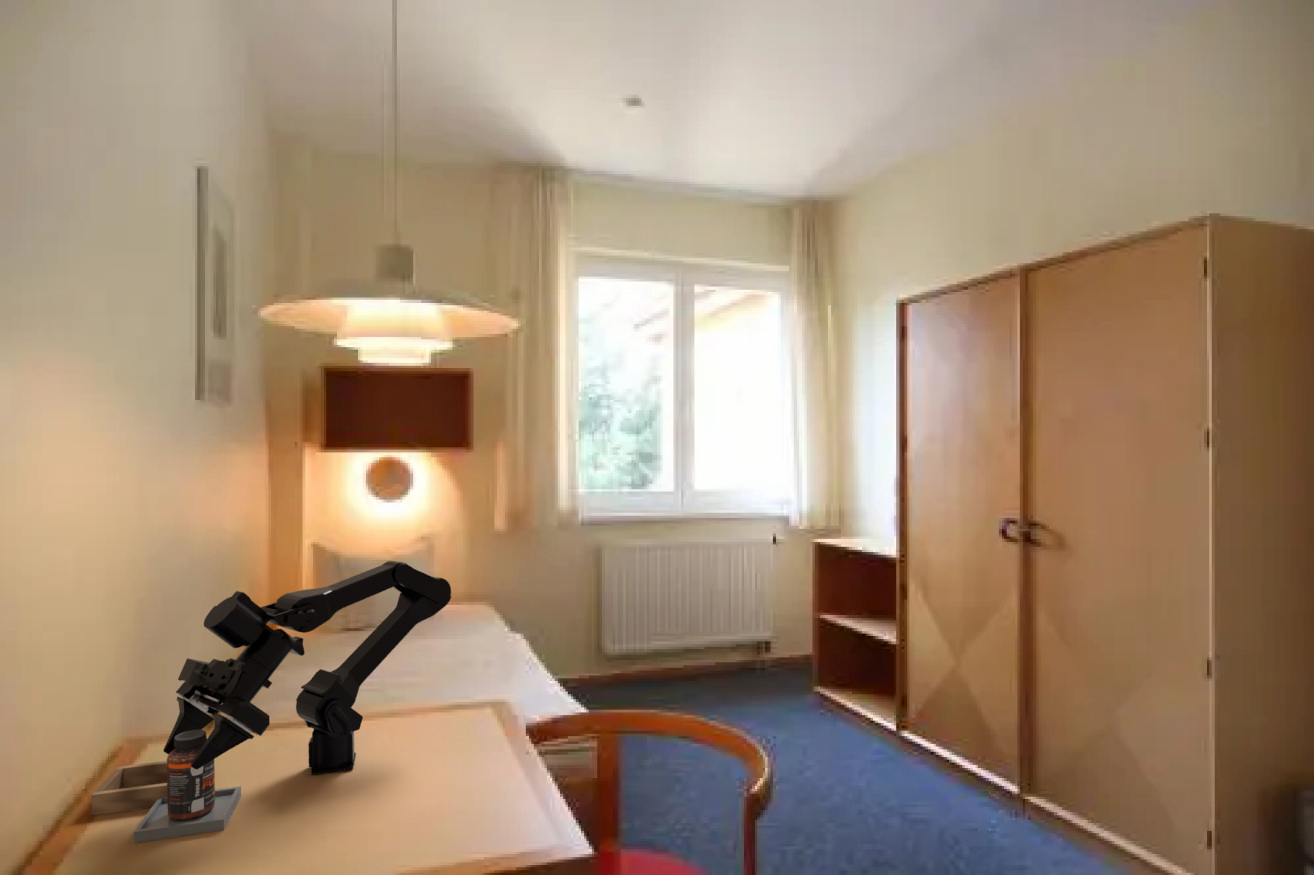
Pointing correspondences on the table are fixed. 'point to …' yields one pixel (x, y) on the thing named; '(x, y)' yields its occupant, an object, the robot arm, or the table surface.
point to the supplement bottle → (189, 778)
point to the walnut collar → (133, 798)
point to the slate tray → (165, 827)
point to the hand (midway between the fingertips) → (179, 760)
